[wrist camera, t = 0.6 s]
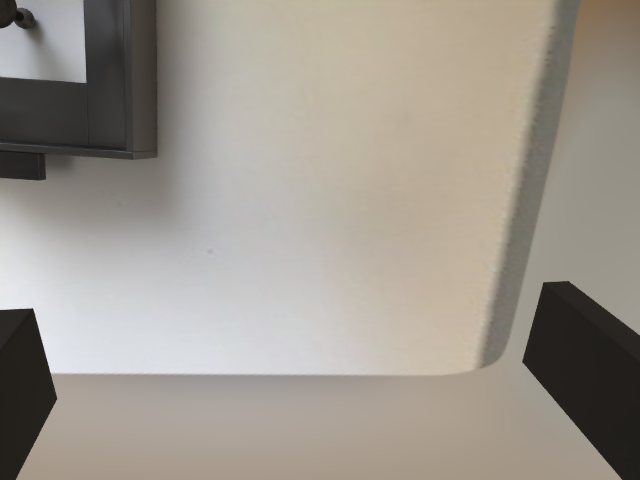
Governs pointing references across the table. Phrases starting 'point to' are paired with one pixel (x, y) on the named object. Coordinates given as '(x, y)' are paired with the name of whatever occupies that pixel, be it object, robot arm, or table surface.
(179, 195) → the table surface
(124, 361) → the table surface
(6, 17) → the microphone
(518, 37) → the table surface
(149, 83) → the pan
